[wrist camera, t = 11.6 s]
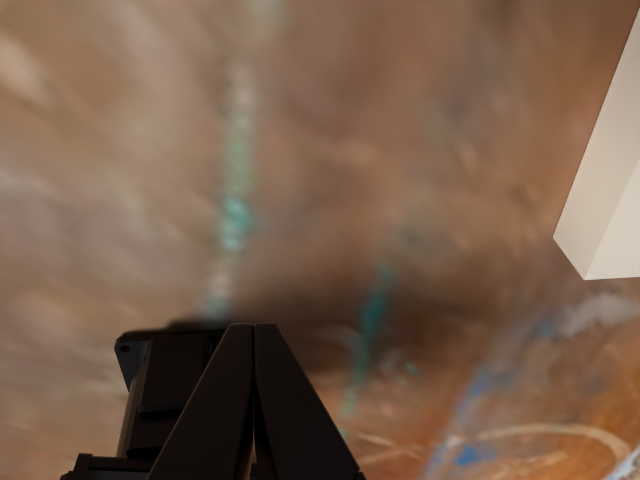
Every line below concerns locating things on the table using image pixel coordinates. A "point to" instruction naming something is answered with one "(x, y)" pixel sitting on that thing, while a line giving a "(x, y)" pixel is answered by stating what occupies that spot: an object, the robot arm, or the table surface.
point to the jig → (609, 182)
